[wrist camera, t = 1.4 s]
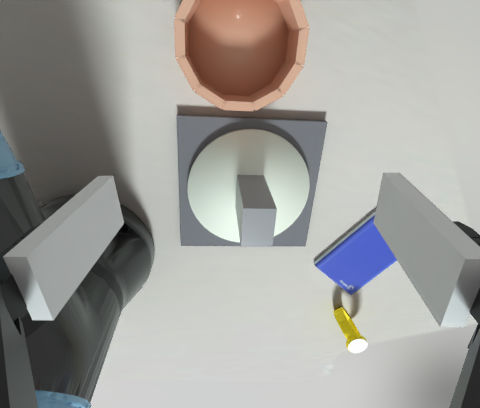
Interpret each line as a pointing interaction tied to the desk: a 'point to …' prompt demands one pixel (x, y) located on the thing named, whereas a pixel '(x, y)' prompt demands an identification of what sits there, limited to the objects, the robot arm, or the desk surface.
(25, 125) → the desk surface
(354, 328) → the yellow curved ring
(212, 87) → the bowl
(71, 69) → the desk surface
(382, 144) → the desk surface
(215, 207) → the lid
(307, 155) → the mat
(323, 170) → the desk surface
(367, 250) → the hard drive
